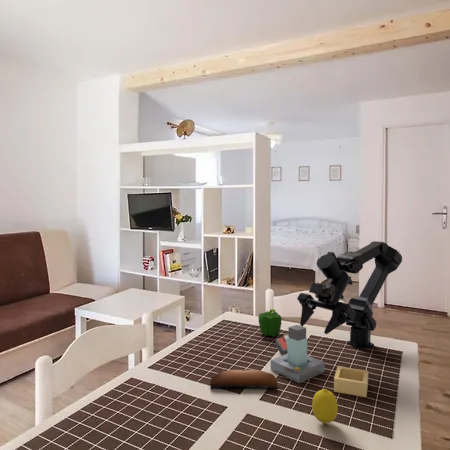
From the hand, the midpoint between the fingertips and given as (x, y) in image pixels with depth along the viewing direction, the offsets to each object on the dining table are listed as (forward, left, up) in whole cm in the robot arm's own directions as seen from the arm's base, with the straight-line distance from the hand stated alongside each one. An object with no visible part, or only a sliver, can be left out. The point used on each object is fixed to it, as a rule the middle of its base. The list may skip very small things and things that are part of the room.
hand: (312, 329), depth 117 cm
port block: (+7, +1, -11) cm, 13 cm away
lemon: (+19, +25, -11) cm, 33 cm away
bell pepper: (-4, -28, -11) cm, 30 cm away
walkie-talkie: (-2, -14, -12) cm, 19 cm away
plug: (+7, +1, -11) cm, 13 cm away
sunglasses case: (+24, -1, -12) cm, 27 cm away
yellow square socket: (+1, +16, -11) cm, 19 cm away
